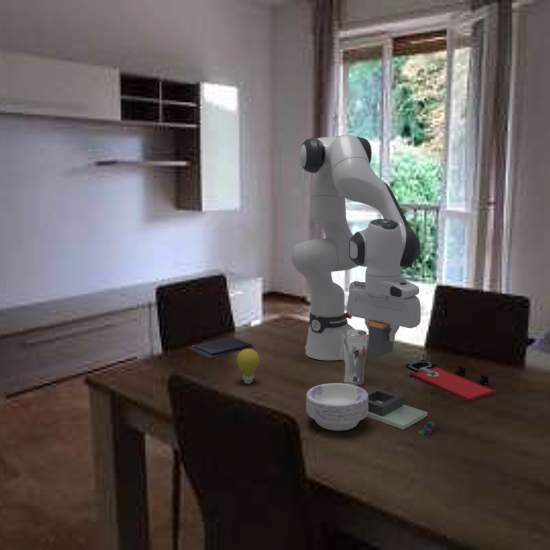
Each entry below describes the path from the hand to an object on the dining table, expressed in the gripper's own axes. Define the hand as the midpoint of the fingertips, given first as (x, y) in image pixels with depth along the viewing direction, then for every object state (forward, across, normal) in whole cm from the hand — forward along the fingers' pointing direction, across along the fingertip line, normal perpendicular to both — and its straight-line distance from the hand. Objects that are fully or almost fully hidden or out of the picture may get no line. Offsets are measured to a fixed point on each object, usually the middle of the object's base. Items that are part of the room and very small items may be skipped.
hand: (381, 338), depth 152 cm
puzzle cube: (+20, +15, -2) cm, 26 cm away
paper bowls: (+20, -3, -14) cm, 24 cm away
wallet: (+20, -70, +6) cm, 73 cm away
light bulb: (+19, -39, -10) cm, 45 cm away
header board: (+19, 0, 0) cm, 19 cm away
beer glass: (+19, -17, +12) cm, 29 cm away
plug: (+4, 0, 0) cm, 4 cm away
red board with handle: (+20, +1, +32) cm, 38 cm away
